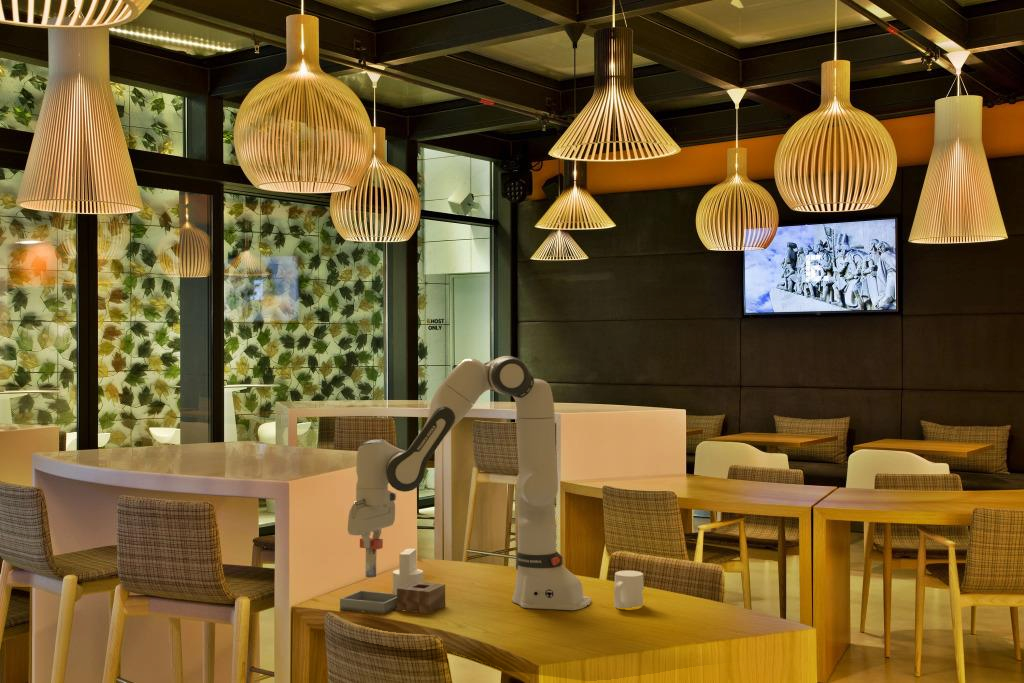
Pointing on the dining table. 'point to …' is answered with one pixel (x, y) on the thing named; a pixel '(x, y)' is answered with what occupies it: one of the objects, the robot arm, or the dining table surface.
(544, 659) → the dining table surface
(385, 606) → the tray
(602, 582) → the dining table surface
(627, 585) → the mug
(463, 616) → the dining table surface
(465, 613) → the dining table surface
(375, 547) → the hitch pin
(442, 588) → the wooden square hole block
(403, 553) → the base with upright slab
